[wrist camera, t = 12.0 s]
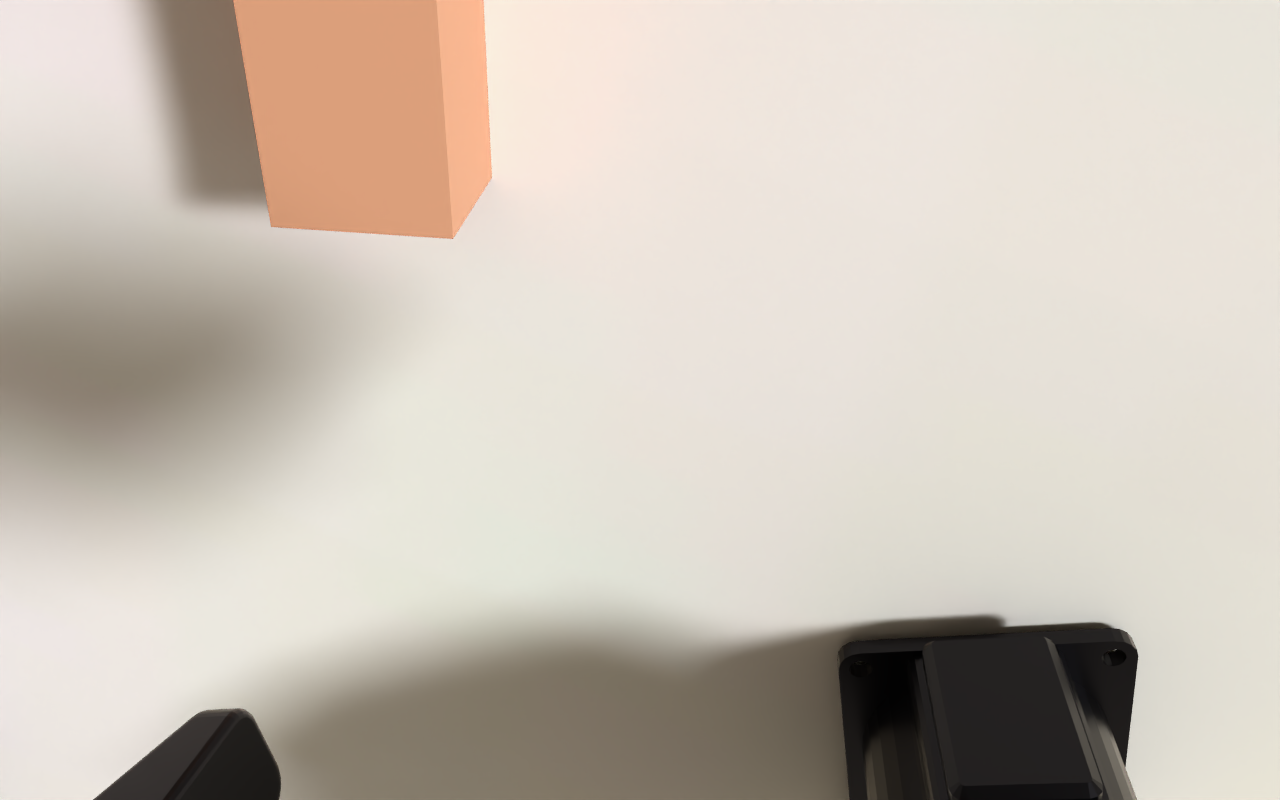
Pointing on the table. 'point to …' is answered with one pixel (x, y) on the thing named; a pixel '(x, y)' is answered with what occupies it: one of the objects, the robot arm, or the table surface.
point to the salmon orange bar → (369, 112)
